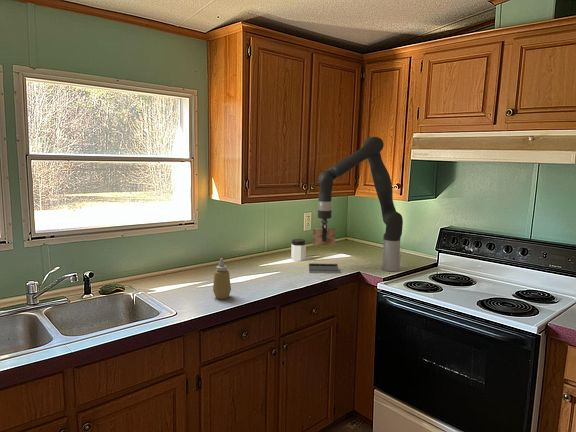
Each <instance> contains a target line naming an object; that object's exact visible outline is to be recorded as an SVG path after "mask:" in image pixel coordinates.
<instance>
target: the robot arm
mask: <svg viewBox="0 0 576 432" xmlns="http://www.w3.org/2000/svg"><path fill="white" fill-rule="evenodd" d="M384 145H385V144H384V141H383V139H382V138H380V137H379V136H371V137H367V138H366V139H365V140H364V142H363V146H362V147H361V148H359V149H358V150H356V151H355V152H353V153H351V154H349V155H348V156H346V157H344V158H342V159H340V160H339V161H338V162H337V163H336V164H334V165H332V166H331V167H329V168H328V169H326V170H324V171H322V172H321V173H320V174H319V175H318V178H317V181H318V183H319V191H318V202H317V218H318V219H321V221H320V228H321V230H322V241H326V235H327V230H328V228H329V227H328V226H329V221H328V219H332V213H333V209H332V208H333V203H332V201H333V200H332V193H333V185H334V180H336V179H337V178H338V177H339V178H340V177H342V176H343V175H345V174H347V173H348V172H349V171H351V170H352V169H353V168H355V167H356V166H357V165H359V164H360V163H361V162H363V161H365V160H367V161H368V164H369V168H370V173H371V177H372V181H373V185H374V189H375V192H376V195H377V198H378V201H379V204H380V210H381V216H382V217H381V218H382V222H383V223H384V224H385V233H384V234H383V241H382V242H383V243H382V245H383V246H382V261H381V263H382V264H381V266H382V267H381V269H382V270H383V271H386V272H400V271H401V256H402V255H401V237H402V234H403V225H404V220H403V216H402V214H401V213H400V212H398V211H397V210H396V206H395V204H394V200H393V197H394V195H393V193H394V190H393V183H392V179H391V176H390V174H389V170H388V168H387V167H386V165H385V163H384V161H383V159H382V154H381V152H382V151H383V149H384ZM323 231H326V232H323Z"/></svg>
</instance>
